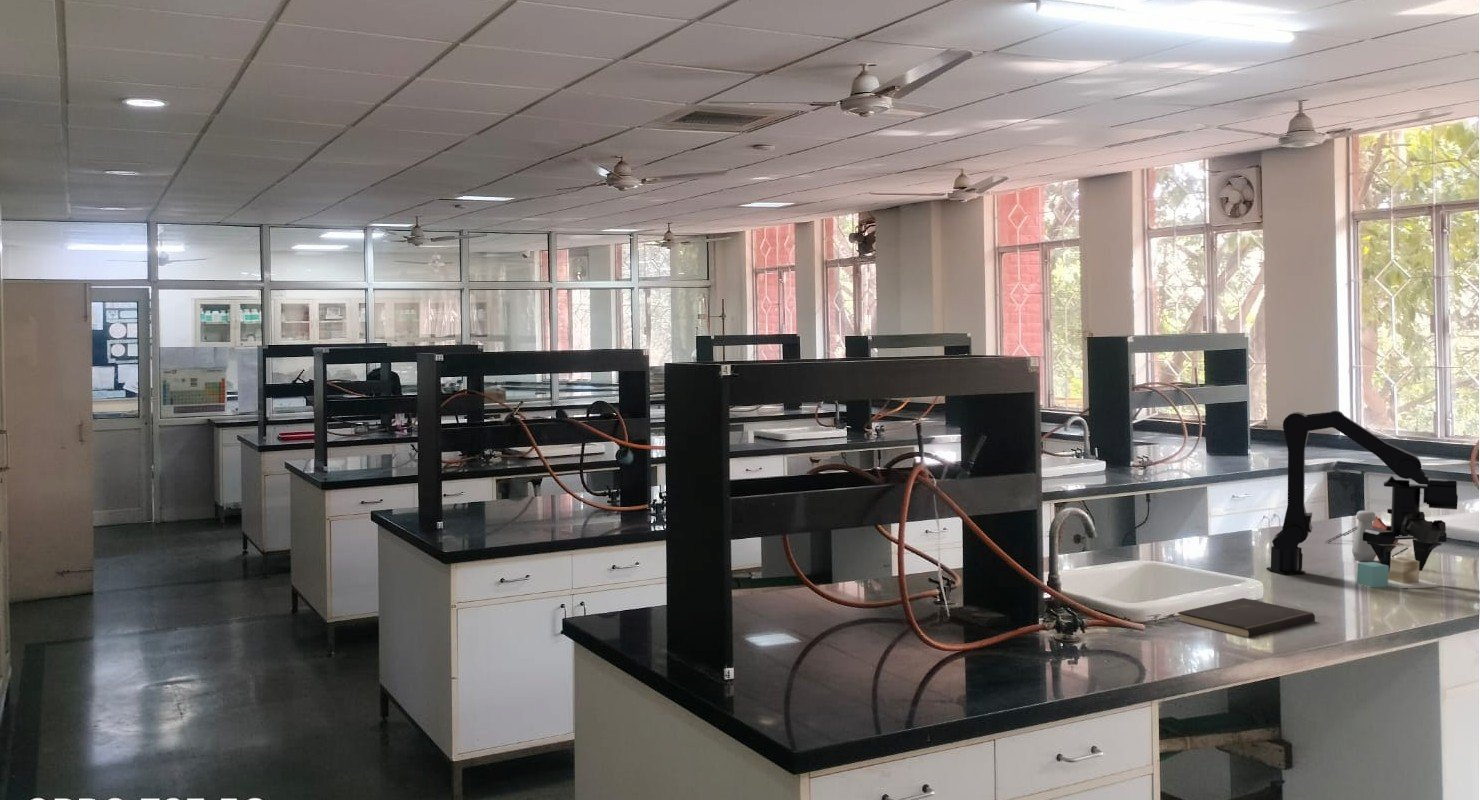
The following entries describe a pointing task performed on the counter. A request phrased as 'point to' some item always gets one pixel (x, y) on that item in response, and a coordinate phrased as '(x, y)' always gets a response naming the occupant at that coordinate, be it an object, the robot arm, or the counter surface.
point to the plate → (1412, 584)
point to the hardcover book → (1246, 617)
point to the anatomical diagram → (1376, 525)
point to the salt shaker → (1361, 547)
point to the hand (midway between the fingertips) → (1403, 571)
